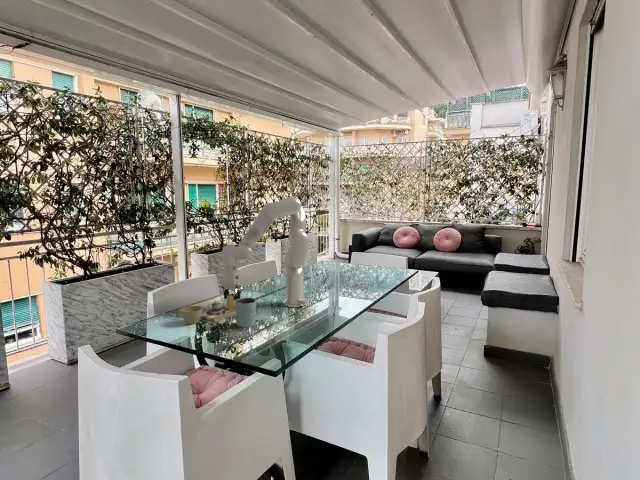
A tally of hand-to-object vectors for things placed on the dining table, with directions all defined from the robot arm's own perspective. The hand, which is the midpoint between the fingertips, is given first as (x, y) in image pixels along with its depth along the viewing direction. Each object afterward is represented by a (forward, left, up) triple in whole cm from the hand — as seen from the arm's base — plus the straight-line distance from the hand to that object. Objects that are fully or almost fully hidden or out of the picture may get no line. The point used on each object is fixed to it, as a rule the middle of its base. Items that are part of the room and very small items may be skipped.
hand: (232, 300), depth 204 cm
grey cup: (-23, +9, -6) cm, 25 cm away
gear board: (0, +4, -6) cm, 7 cm away
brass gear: (0, 0, -4) cm, 4 cm away
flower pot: (0, +24, -6) cm, 25 cm away
